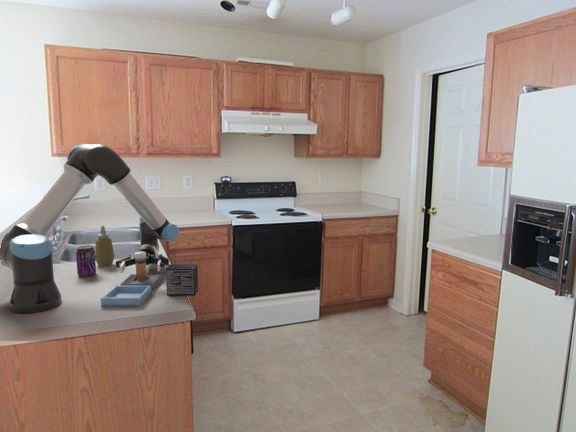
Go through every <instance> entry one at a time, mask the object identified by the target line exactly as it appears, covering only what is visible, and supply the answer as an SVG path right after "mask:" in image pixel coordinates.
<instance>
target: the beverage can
mask: <svg viewBox="0 0 576 432" xmlns="http://www.w3.org/2000/svg"><path fill="white" fill-rule="evenodd" d="M75 257H76V258H75V260H76V269H77V270H76V271H77V275H78V276H80V277H91V276H93V275H95V274H96V273H97V266H96V264H97V262H96V260H95V249H94V245H90V244H84V245H79V246H77V247H76V250H75Z"/></svg>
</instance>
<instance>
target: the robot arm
mask: <svg viewBox="0 0 576 432" xmlns="http://www.w3.org/2000/svg"><path fill="white" fill-rule="evenodd" d="M66 159H67V160H66V161H65V163H64V164H63V173H62V174H61V175H60V176H59V178H58V179H57V180H56V181H55V182H54V184H53V185H52V186H51V187H50V189H49V190H48V191H47V192H46V194H45V195H44V196H42V198H41V200H40V201H39V202H38V204H37V205H36V206H35V207H34V208H33V210H32V211H31V212H30V214H29V215H28V216H27V217H26V218H25V219H24V220H23V222H22V223H17V224H14V225H13V226H12V228H11V229H10V230H9V232H6V233H5V234H6V235H5V236H4V238H3V240H2V243H1V248H0V260H1V263H2V264H1V263H0V264H1V265H2V266H5V267H7V268H9V269H11V270H12V281H13V289H12V292H11V296H10V300H9V310H10V312H12V313H17V314H33V313H37V312H38V313H39V312H43V311H48V310H51V309H54V308H55V307H57V306H59V305H60V304H61V303H62V293H60V290H59V288H58V285H57V283H56V282H55V279H54V278H55V275H54V264H53V254H52V253H53V247H52V244H51V243H52V242H51V240H50V239H49V238H48V237H47V236H46V235H48V233H50V231H51V229H53V227H54V225H56V222H58V220H59V219H60V218H61V217H62V215H63V214H64V212H65V211H66V210H67V209H68V207H69V206H70V205H71V204H72V202H74V201H73V200H74V199H75V198H76V197H77V196H78V194H79V193H80V192H81V191H82V189H83V188H84V186H85V185H91V184H92V183H93V182H94V180H95V179H96V178H97V177H101V178H102V179H104V180H105V181H106V182H107V183H108V184H109V185H111V186H114V188H115V189H117V191H118V192H119V193H120V194H121V195H122V197H123V198H124V199H125V200H126V201H127V202H128V204H129V205H130V206H131V207H132V208H133V209H134V210H135V212H136V213H137V214H138V215H139V224H138V226H139V235H140V237H139V238H140V248H139V249H138V251H137V252H139V251H144V252H146V266H150V265H156V266H157V272H160V271H161V268H164V266H167V267H168V266H169V265H170V259H169V258H168V257H166V256H165V255H163V254H162V253H159V251H160V244H159V240H160V241H162V240H163V241H164V242H174V241H175V240H176V239H178V237H179V234H180V229H179V227H178V226H177V224H174V223H171V222H170V221H169V220H168V219H167V217H166V216H165V215H164V214H163V213H162V211H161V210H160V209H159V208H158V206H157V205H156V204H155V203H154V201H153V200H152V199H151V198H150V196H149V195H148V193H146V191H145V190H144V189H143V188H142V186H141V185H140V184H139V183H138V181H137V180H136V178H134V176H133V175H132V173H131V172H132V171H131V168H130V167H129V166H128V163H126V162H125V161H124V160H123V158H122V157H121V156H120V155H119V154H118V153H117V152H116V151H115V150H114V149H112V148H111V147H109V146H108V145H104V144H89V143H81V144H79V145H75V146H74V147H73V148H71V149H70V151H69V152H68V153H67V158H66ZM158 253H159V254H158ZM157 254H158V255H157ZM133 265H134V266H136V263H135V255H134V256H132V255H131V254H130V255H127V256H125V257H123V258H119V259H118V260H116V261H115V268H116V269H117V268H118V269H119V273H120V274H123V272H125V270H126V268H127V267H130V266H133Z"/></svg>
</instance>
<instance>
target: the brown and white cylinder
mask: <svg viewBox="0 0 576 432" xmlns="http://www.w3.org/2000/svg"><path fill="white" fill-rule="evenodd" d="M138 251H139V250H138ZM138 251H136V252H134V256H135V263H136V265H135V274H136V281H147V274H148V273H147V265H146V252H144V251H139V252H138Z"/></svg>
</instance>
